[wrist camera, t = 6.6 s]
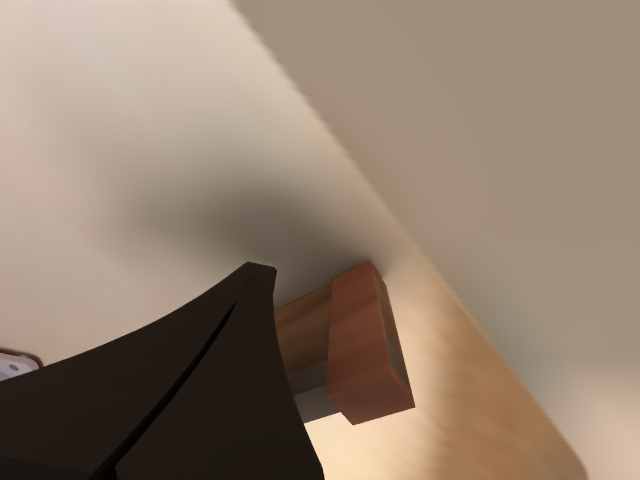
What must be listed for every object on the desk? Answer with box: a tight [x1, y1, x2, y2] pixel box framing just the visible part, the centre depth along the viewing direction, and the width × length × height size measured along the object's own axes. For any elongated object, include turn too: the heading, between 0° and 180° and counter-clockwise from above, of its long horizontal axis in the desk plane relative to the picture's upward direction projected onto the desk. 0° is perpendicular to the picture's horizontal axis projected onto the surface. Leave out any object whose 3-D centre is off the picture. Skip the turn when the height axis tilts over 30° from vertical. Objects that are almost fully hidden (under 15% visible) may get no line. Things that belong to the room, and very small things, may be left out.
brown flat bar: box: [274, 261, 415, 425], centre depth 12 cm, size 1×17×5 cm, turn 122°
